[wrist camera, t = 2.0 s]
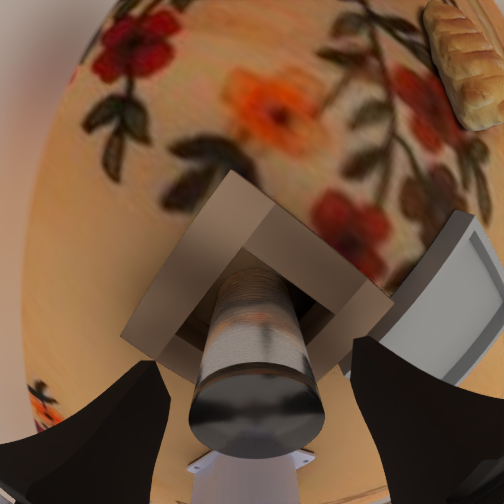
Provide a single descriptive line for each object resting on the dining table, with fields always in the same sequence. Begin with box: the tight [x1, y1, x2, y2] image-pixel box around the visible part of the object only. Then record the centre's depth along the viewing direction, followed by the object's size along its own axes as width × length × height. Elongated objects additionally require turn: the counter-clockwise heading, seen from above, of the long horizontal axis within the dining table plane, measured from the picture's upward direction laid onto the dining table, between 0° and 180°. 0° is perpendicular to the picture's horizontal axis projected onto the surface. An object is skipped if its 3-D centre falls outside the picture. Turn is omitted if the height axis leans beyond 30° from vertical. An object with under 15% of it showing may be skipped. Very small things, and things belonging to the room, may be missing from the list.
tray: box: [338, 210, 504, 387], centre depth 15 cm, size 12×11×2 cm
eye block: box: [120, 170, 394, 385], centre depth 14 cm, size 10×10×2 cm
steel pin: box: [189, 269, 325, 459], centre depth 11 cm, size 4×4×8 cm
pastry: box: [423, 0, 504, 132], centre depth 9 cm, size 9×7×4 cm
